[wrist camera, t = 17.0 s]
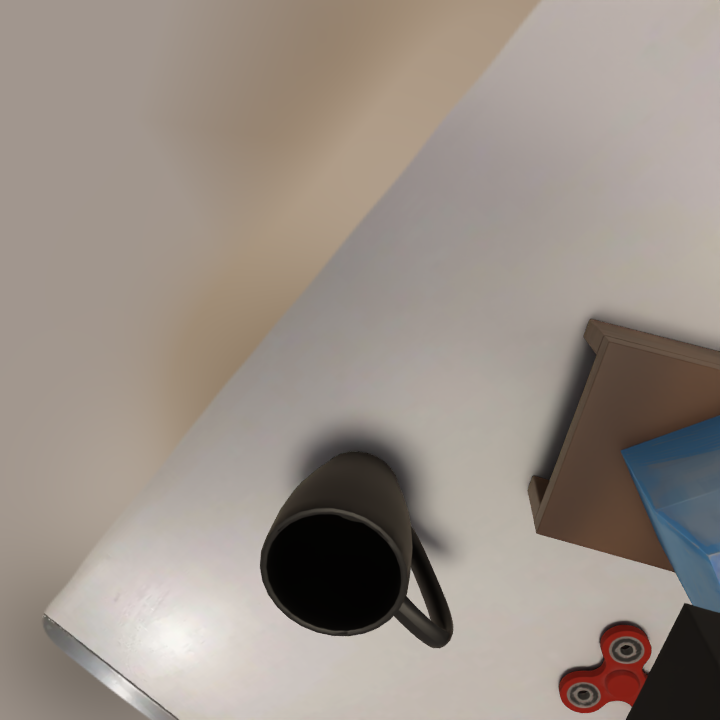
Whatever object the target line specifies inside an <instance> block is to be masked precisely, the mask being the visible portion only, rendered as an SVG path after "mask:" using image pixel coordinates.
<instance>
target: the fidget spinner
mask: <svg viewBox="0 0 720 720" xmlns="http://www.w3.org/2000/svg"><path fill="white" fill-rule="evenodd" d="M624 645H629V646H630V647H629V648H628V649H621V647H622V646H624ZM600 647H601V650H602V653H603V656H604V662H603V664H602V665H601V666H600V667H599V668H597V669H595V670H592V671H574V672H571V673H569V674H567V675H566V676H564V677H563V678H562V680H561V681H560V684H559V692H560V697H561V700H562V702H563V703H564V705H565V706H566V707H568V708H569V709H571V710H573V711H575V712H579V713H590V712H594V711H597V710H599V709H600V708H601V707H603V706H604V705H605V704H606V703H608V702H610V701H623V702H626V703H628V704H630V705H631V706H633V704H634V702H635V700H636V699H637V697H638V695H639V693H640V691H641V689H642V687H643V685H644V683H645V681H646V679H647V677H648V675H646V674H645V673H644V672H643V671H642V668H643V666H644V664H645V663H646V662H647V661H648V659H649V658H650V655H651V645H650V642H649V640H648V637H647V636H646V634H645V633H644V632H643V631H642V630H640V629H639V628H637V627H634V626H631V625H618V626H614V627H612V628H610V629H608V630H607V631H606V632H605V633H604V634H603V636H602V638H601V641H600ZM582 690H585V691H587V692H586V693H579V691H582Z"/></svg>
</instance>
